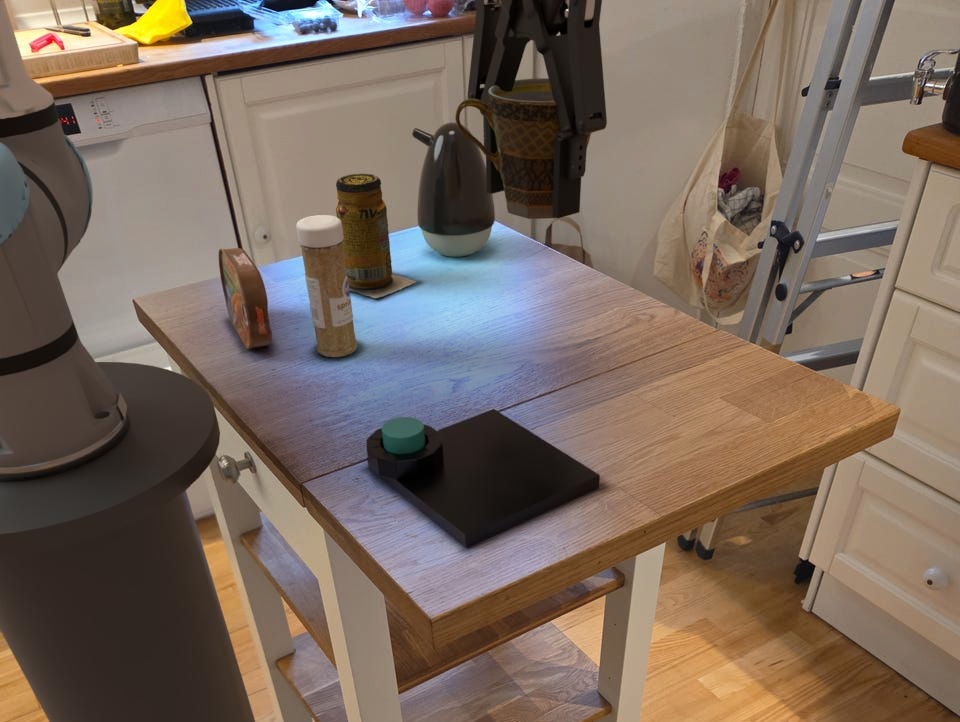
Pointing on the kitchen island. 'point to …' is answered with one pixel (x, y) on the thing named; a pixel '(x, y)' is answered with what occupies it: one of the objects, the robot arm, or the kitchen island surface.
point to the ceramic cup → (522, 143)
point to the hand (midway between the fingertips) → (531, 201)
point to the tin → (245, 297)
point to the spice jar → (327, 284)
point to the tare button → (403, 435)
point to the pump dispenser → (453, 193)
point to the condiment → (366, 236)
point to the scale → (481, 475)
